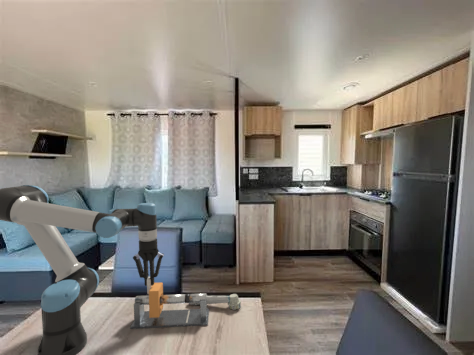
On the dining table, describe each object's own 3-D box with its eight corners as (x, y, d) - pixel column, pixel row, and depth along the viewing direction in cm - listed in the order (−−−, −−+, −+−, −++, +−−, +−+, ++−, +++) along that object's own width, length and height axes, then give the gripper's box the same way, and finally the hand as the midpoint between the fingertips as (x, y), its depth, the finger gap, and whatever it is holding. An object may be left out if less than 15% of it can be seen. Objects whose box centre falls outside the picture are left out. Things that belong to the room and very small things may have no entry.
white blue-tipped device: (191, 293, 126) (240, 290, 122) (193, 306, 126) (242, 303, 122) (187, 299, 121) (238, 295, 117) (189, 312, 121) (240, 309, 117)
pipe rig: (130, 328, 105) (129, 303, 105) (138, 313, 116) (138, 290, 116) (207, 325, 107) (207, 300, 107) (209, 310, 118) (208, 287, 118)
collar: (149, 317, 107) (148, 291, 107) (154, 307, 115) (153, 282, 114) (159, 317, 107) (158, 290, 107) (163, 307, 115) (162, 282, 115)
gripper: (129, 242, 105) (131, 297, 106) (161, 241, 106) (163, 296, 107) (135, 237, 113) (137, 288, 114) (165, 236, 113) (166, 287, 115)
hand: (149, 292), depth 111 cm, fingers closed
